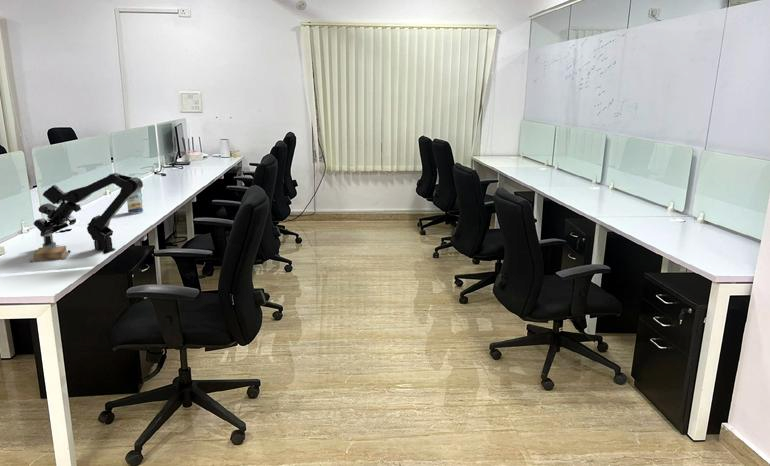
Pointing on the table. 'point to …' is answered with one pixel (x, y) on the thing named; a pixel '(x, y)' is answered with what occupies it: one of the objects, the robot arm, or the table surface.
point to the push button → (49, 240)
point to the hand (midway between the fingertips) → (46, 234)
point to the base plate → (54, 259)
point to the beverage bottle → (135, 203)
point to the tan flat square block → (50, 253)
